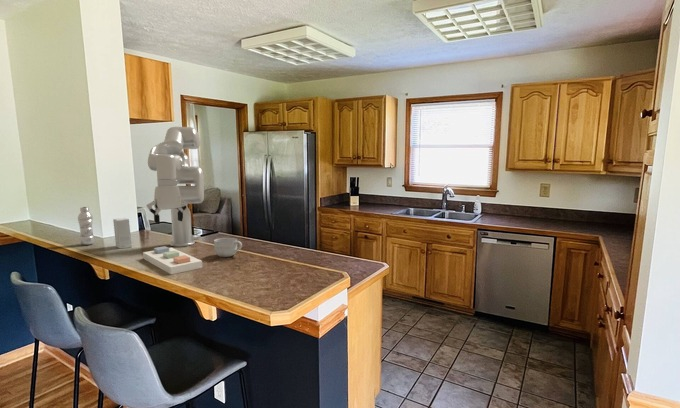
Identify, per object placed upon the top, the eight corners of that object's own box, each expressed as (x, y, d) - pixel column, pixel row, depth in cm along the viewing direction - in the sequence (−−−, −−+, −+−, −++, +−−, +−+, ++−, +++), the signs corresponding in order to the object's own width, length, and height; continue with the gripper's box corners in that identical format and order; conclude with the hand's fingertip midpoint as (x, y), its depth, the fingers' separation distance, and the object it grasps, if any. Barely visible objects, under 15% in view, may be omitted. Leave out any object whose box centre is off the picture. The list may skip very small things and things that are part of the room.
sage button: (174, 254, 164) (174, 250, 164) (179, 256, 161) (179, 252, 160) (163, 256, 160) (163, 252, 160) (167, 259, 157) (167, 254, 157)
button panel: (172, 253, 176) (171, 247, 176) (202, 267, 155) (202, 260, 154) (143, 258, 167) (142, 252, 167) (171, 274, 145) (170, 267, 145)
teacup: (209, 256, 172) (208, 240, 171) (226, 251, 181) (225, 235, 180) (231, 260, 165) (230, 243, 164) (247, 255, 175) (247, 239, 174)
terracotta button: (185, 259, 156) (184, 255, 156) (190, 262, 153) (190, 257, 153) (173, 262, 153) (173, 257, 153) (178, 264, 149) (178, 259, 149)
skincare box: (132, 247, 188) (130, 219, 186) (118, 249, 183) (116, 220, 182) (127, 244, 194) (125, 217, 192) (114, 246, 189) (112, 218, 187)
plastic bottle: (87, 246, 188) (84, 208, 186) (76, 245, 190) (73, 208, 187) (98, 243, 195) (95, 206, 192) (87, 242, 196) (84, 206, 193)
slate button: (165, 250, 171) (165, 246, 171) (169, 252, 168) (169, 248, 168) (154, 252, 168) (153, 248, 168) (158, 254, 164) (157, 250, 164)
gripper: (183, 182, 165) (185, 218, 167) (142, 183, 153) (144, 223, 155) (190, 182, 160) (192, 220, 162) (148, 184, 147) (151, 225, 150)
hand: (169, 222), depth 158 cm, fingers open, 9 cm apart
